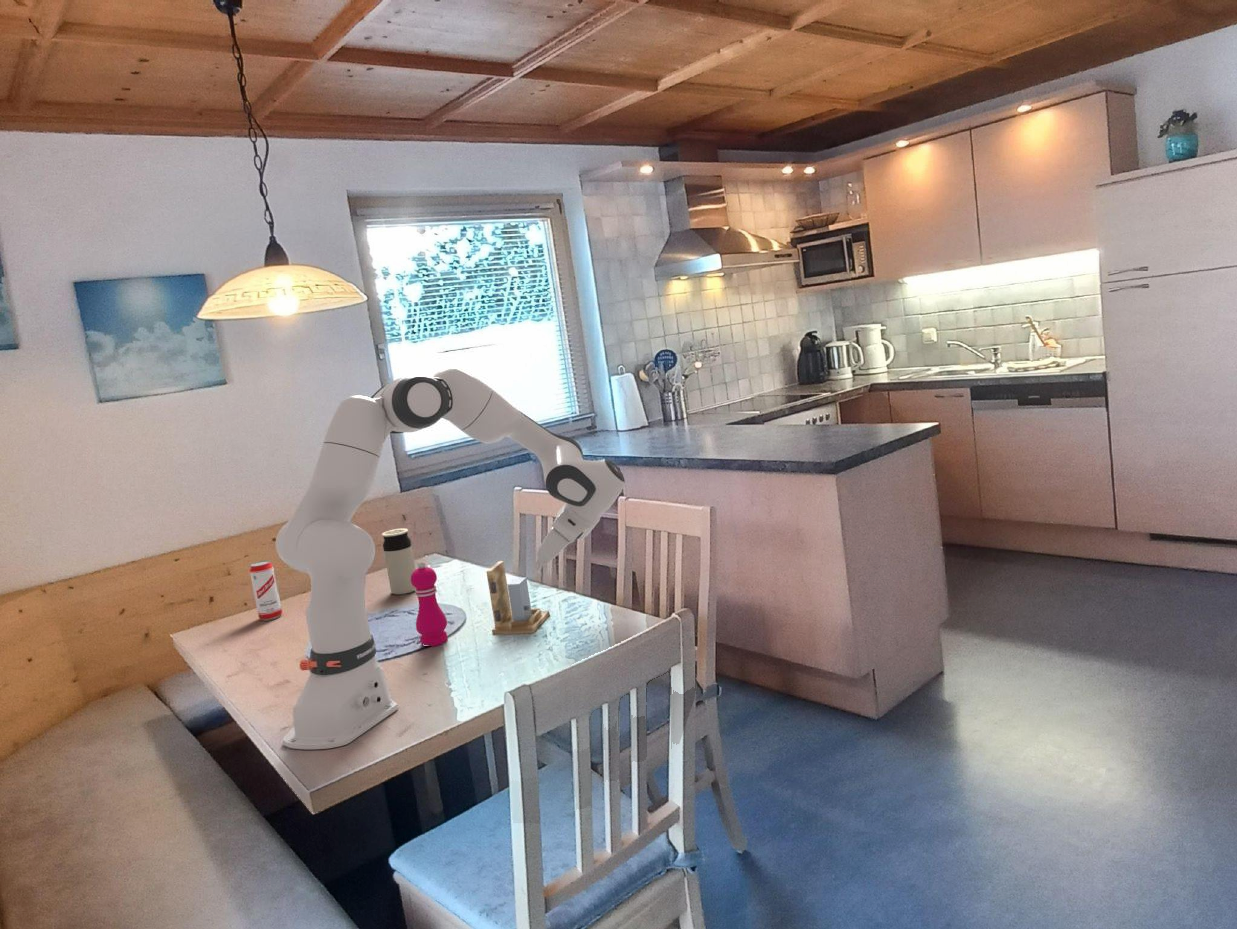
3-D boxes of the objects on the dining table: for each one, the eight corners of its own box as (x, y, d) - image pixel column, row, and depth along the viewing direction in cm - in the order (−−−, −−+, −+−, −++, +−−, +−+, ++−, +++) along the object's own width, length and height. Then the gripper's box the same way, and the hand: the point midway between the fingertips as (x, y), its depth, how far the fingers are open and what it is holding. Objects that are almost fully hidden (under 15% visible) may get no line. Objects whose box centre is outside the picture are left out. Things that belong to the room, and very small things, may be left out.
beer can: (284, 616, 234) (274, 562, 231) (261, 623, 231) (250, 567, 228) (280, 612, 239) (270, 558, 237) (257, 618, 236) (246, 564, 233)
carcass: (533, 632, 195) (524, 571, 193) (492, 634, 198) (483, 573, 196) (549, 614, 207) (541, 556, 205) (510, 616, 210) (502, 558, 207)
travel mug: (414, 593, 240) (404, 533, 238) (387, 596, 241) (377, 536, 238) (422, 585, 248) (412, 526, 245) (396, 587, 249) (385, 529, 246)
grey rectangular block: (529, 623, 199) (523, 583, 198) (513, 624, 200) (507, 584, 199) (536, 616, 204) (530, 577, 202) (520, 616, 205) (514, 577, 203)
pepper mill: (442, 647, 194) (428, 564, 190) (414, 648, 195) (399, 566, 192) (454, 635, 200) (441, 555, 197) (426, 636, 202) (413, 557, 199)
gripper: (578, 500, 204) (546, 541, 209) (552, 521, 185) (517, 566, 189) (597, 517, 204) (565, 557, 208) (574, 540, 185) (538, 584, 189)
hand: (542, 562), depth 198 cm, fingers open, 8 cm apart
